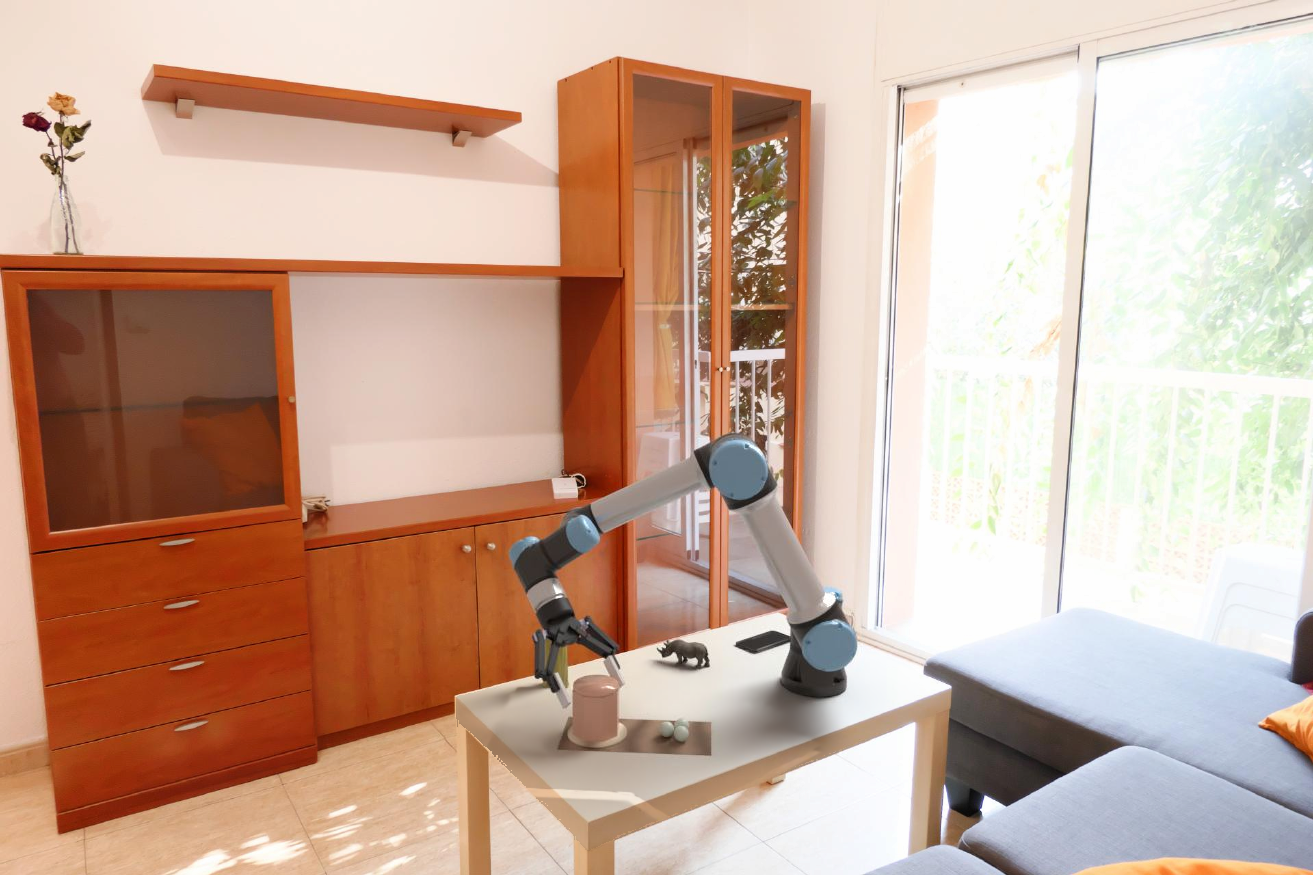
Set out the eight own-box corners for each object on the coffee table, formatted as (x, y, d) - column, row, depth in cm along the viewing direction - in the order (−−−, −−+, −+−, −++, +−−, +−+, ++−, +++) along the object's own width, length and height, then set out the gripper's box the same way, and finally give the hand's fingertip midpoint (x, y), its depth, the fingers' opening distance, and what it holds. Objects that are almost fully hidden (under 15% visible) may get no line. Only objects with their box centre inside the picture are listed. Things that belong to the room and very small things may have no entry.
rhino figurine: (660, 656, 220) (660, 633, 219) (711, 664, 215) (712, 641, 214) (653, 661, 216) (653, 638, 216) (706, 670, 211) (706, 647, 210)
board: (711, 727, 182) (711, 721, 182) (711, 761, 168) (711, 755, 168) (568, 722, 184) (568, 716, 184) (557, 755, 170) (557, 749, 170)
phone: (794, 637, 231) (755, 651, 222) (794, 641, 231) (755, 655, 222) (772, 629, 237) (733, 642, 228) (772, 633, 237) (733, 646, 228)
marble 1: (674, 732, 177) (674, 719, 176) (673, 740, 174) (673, 725, 173) (659, 732, 177) (659, 718, 177) (658, 739, 174) (658, 725, 174)
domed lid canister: (600, 716, 183) (600, 670, 182) (628, 732, 176) (628, 684, 175) (564, 729, 177) (563, 682, 176) (591, 746, 170) (591, 697, 169)
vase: (547, 693, 198) (547, 632, 196) (538, 682, 203) (537, 624, 201) (572, 687, 201) (572, 628, 199) (562, 678, 206) (562, 620, 204)
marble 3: (688, 737, 175) (689, 723, 174) (688, 744, 172) (688, 730, 172) (673, 737, 175) (674, 722, 175) (673, 744, 172) (673, 729, 172)
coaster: (629, 721, 182) (629, 719, 182) (624, 749, 170) (624, 747, 170) (572, 718, 183) (572, 717, 182) (562, 746, 171) (563, 744, 171)
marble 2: (689, 729, 178) (689, 715, 178) (688, 736, 175) (689, 722, 175) (674, 728, 179) (674, 715, 178) (674, 735, 176) (674, 721, 175)
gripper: (590, 601, 195) (633, 686, 186) (493, 627, 178) (535, 722, 169) (605, 584, 190) (650, 670, 181) (507, 608, 174) (551, 705, 165)
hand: (595, 695), depth 175 cm, fingers open, 13 cm apart
